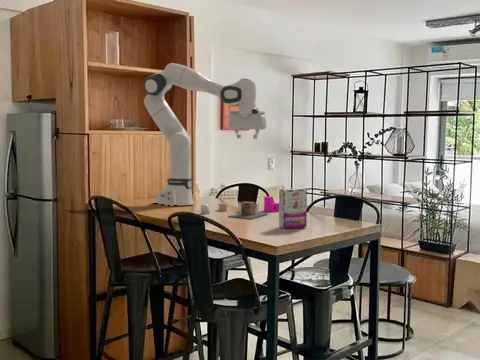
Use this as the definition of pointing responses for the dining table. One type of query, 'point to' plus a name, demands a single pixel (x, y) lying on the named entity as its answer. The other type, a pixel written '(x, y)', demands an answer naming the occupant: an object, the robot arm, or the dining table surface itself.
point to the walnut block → (248, 208)
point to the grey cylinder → (204, 209)
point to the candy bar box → (292, 208)
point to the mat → (248, 216)
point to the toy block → (270, 205)
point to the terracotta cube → (222, 206)
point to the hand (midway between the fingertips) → (246, 138)
